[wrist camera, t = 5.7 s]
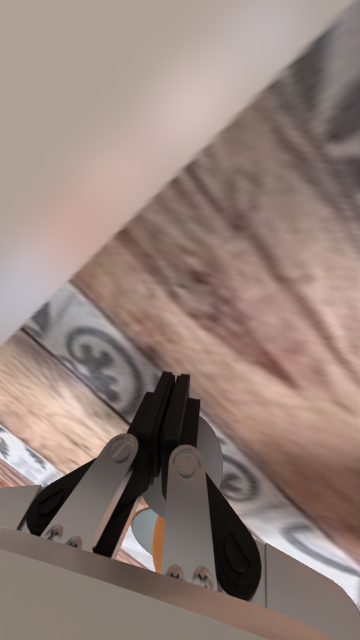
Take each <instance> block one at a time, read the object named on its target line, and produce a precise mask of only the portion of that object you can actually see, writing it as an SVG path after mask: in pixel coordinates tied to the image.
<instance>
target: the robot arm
mask: <svg viewBox="0 0 360 640" xmlns="http://www.w3.org/2000/svg"><path fill="white" fill-rule="evenodd" d="M189 387H190V375H188V374H181V376H177V379H176V382H175V375H172V372H165V371H163V372H162V375H161V377H160V380H159V382H158V384H157V387H156V389H155V391H154V393H152V392H147V393H146V394H145V396H144V398H143V400H142V402H141V404H140V406H139V409H138V411H137V413H136V415H135V417H134V419H133V421H132V423H131V425H130V427H129V429H128V431H127V433H124V434H119V435H117V436H115V437H114V438H112V439H111V440H110V441H109V442H108V443H107V444H106V446H105V447H104V449H103V450H102V451H101V453H100V454H99V456H98V457H97V458H95V459H93V460H91V461H90V462H88V463H86V464H84V465H83V466H81V467H79V468H77V469H76V470H74V471H72V472H70V473H69V474H67V475H65V476H63V477H62V478H60V479H58V480H56V481H55V482H53V483H51V484H50V485H48V486H47V487H41V485H33V486H19V487H5V488H0V640H360V612H359V610H358V608H357V607H356V605H355V603H354V602H353V600H352V599H351V598H350V597H349V596H348V594H347V593H346V592H345V591H344V590H343V588H341V587H340V586H339V585H338V584H336V583H335V582H334V581H332V580H331V579H329V578H327V577H326V576H324V575H322V574H320V573H319V572H317V571H315V570H313V569H312V568H310V567H308V566H306V565H305V564H303V563H301V562H299V561H298V560H296V559H294V558H293V557H291V556H289V555H287V554H286V553H284V552H282V551H280V550H279V549H277V548H275V547H273V546H272V545H270V544H268V543H266V544H265V545H264V544H263V543H261V542H259V541H257V540H256V539H254V538H253V537H252V535H251V533H250V532H249V531H248V529H247V528H246V526H245V525H244V524H243V522H242V521H241V520H240V518H239V517H238V515H237V514H236V513H235V511H234V510H233V509H232V507H231V506H230V504H229V503H228V502H227V500H226V499H225V497H224V496H223V495H222V493H221V492H220V491H219V489H218V488H217V486H216V485H215V484H214V482H213V481H212V480H211V478H210V477H209V475H208V474H207V473H206V471H205V464H204V459H203V457H202V455H201V453H200V452H199V451H198V450H197V437H198V424H199V411H200V400H199V399H193V398H189ZM160 470H161V479H162V495H163V497H164V499H165V501H166V510H165V524H164V538H163V553H162V567H161V574H160V573H157V572H154V571H150V570H147V569H144V568H141V567H137V566H134V565H131V564H128V563H124V562H121V561H118V560H115V559H116V557H117V554H118V552H119V549H120V547H121V545H122V542H123V540H124V537H125V535H126V533H127V530H128V528H129V525H130V523H131V521H132V518H133V516H134V513H135V511H136V508H137V506H138V504H139V501H140V498H141V495H142V494H143V493H144V492H145V491H147V490H148V487H149V485H153V482H154V478H155V477H157V478H158V477H159V474H160Z"/></svg>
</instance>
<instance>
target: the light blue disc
mask: <svg viewBox="0 0 360 640" xmlns="http://www.w3.org/2000/svg"><path fill="white" fill-rule="evenodd" d="M157 517H158V515H157V514H156V513H155V512H154V511H153V510H152V509H151V508H150V509H146V510H144V511H142V512H140V513H139V514H138V515H137V516H136V517H135V519H134V521H133V525H132V531H133V534H134V536H135V538H136V540H137V541H138V543H139V544H140V545H141V546H142V547H143V548H144V549H145V550H146V551H147V552H148V553H150V554H151V555H152V556H153V554H152V538H153V531H154V527H155V523H156V520H157Z"/></svg>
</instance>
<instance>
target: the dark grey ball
mask: <svg viewBox="0 0 360 640" xmlns="http://www.w3.org/2000/svg"><path fill="white" fill-rule="evenodd" d="M197 450H198V451H199V452H200V453H201V455H202V457H203V459H204V464H205V471H206V473H207V474H208V475H209V477H210V478H211V480H212V481H213V482H214V484H215V485H216V486H217V488H218V489H219V487H220V484H221V480H222V474H223V458H222V451H221V447H220V444H219V441H218V438H217V436H216V434H215V432H214V431H213V429H212V428H211V426H210V425H209V424H208V423H207V422H206V421H205V420H204V419H203V418H202V417H200V416H199V424H198V437H197ZM142 496H143V498H144V500H145V501H146V503H147V504H148V506H149V507H150V508H151V509H152V510H153V511H154V512H155V513H156V514H157V515H159V516H161V517H162V518H164V519H165V510H166V501H165V499H164V497H163V495H162V479H161V470H160V474H159V477H158V478H157V477H155V478H154V482H153V485H149V487H148V490H147V491H145V492H144V493H143V494H142Z"/></svg>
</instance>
